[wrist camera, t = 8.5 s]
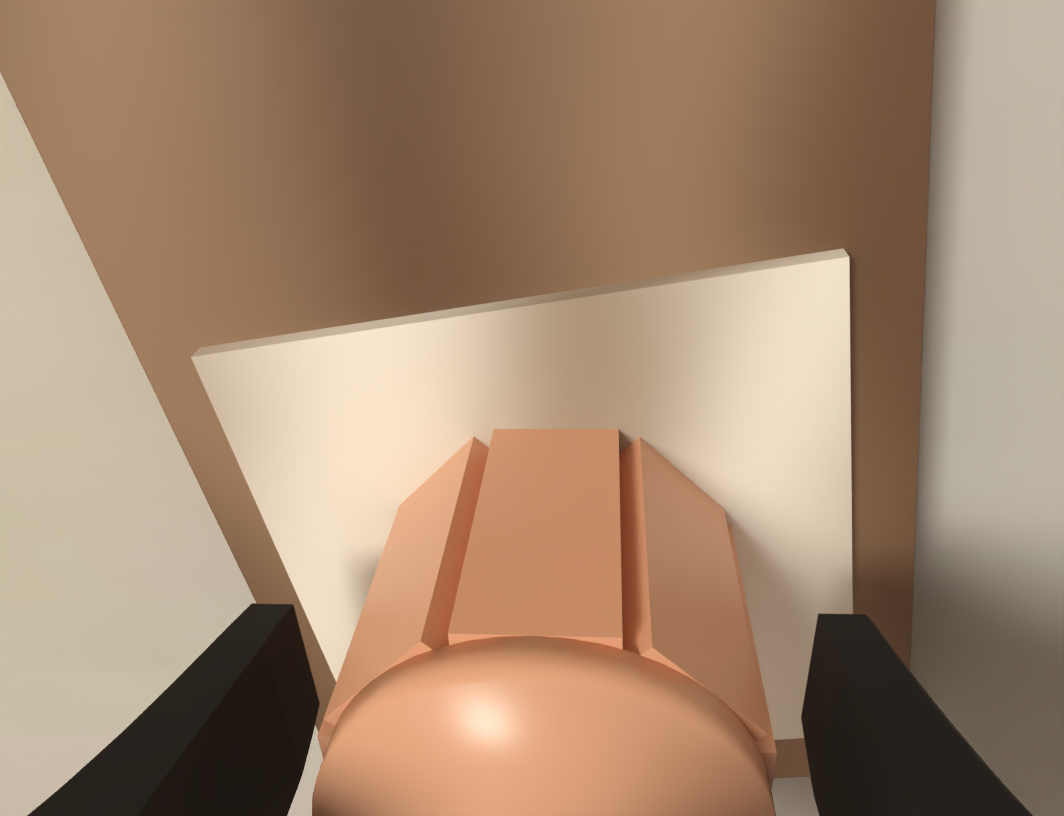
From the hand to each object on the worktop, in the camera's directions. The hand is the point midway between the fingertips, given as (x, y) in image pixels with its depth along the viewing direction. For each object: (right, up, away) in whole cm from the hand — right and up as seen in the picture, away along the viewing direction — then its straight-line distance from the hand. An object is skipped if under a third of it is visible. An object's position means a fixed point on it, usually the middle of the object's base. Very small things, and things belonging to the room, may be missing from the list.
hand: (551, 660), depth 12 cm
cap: (0, +1, +2) cm, 2 cm away
